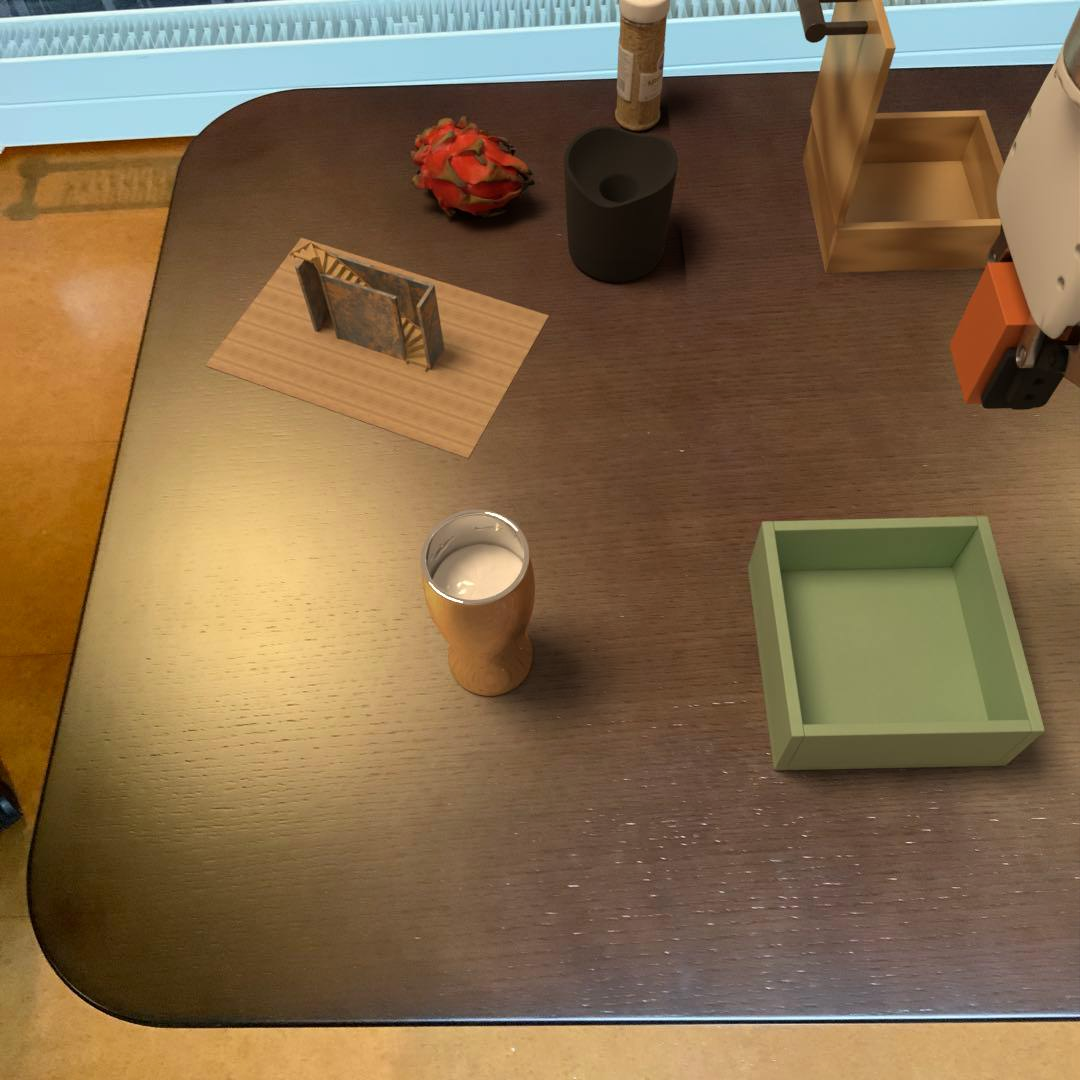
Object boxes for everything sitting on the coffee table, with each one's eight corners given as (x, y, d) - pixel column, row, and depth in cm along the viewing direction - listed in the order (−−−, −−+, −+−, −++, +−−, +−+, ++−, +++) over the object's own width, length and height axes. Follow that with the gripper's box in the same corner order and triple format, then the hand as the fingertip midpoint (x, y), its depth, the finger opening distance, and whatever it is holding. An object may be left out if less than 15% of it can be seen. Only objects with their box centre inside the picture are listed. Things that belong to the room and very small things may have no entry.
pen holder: (631, 199, 99) (637, 108, 90) (688, 261, 94) (700, 172, 86) (545, 237, 96) (542, 147, 88) (599, 303, 92) (602, 215, 84)
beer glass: (427, 684, 74) (397, 586, 62) (464, 601, 78) (443, 492, 65) (518, 715, 73) (508, 622, 60) (552, 630, 76) (549, 524, 63)
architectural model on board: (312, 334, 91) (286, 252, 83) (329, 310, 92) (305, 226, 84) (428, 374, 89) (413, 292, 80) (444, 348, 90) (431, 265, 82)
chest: (964, 161, 100) (985, 109, 95) (1000, 274, 93) (1025, 224, 88) (800, 166, 100) (813, 114, 95) (823, 279, 93) (838, 229, 88)
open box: (956, 563, 78) (987, 515, 72) (1005, 765, 71) (1045, 731, 65) (747, 567, 79) (761, 520, 73) (773, 770, 71) (791, 736, 65)
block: (1024, 342, 56) (1070, 260, 51) (1043, 402, 54) (1093, 323, 49) (948, 344, 56) (987, 262, 51) (964, 404, 54) (1006, 325, 49)
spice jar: (659, 133, 103) (671, 4, 91) (613, 132, 103) (618, 3, 92) (660, 103, 105) (671, -27, 94) (614, 102, 106) (620, -28, 94)
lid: (861, -72, 81) (792, -70, 81) (896, 47, 73) (820, 50, 73) (817, 110, 95) (759, 112, 95) (843, 225, 88) (779, 227, 88)
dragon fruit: (412, 192, 102) (527, 233, 101) (383, 201, 94) (507, 245, 94) (434, 101, 98) (554, 143, 98) (405, 103, 91) (534, 149, 90)
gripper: (1373, 203, 34) (1118, 502, 50) (1206, -85, 43) (1033, 248, 59) (1142, 208, 34) (961, 505, 50) (1020, -80, 43) (898, 251, 59)
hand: (1001, 364), depth 54 cm, fingers closed on block, 4 cm apart
